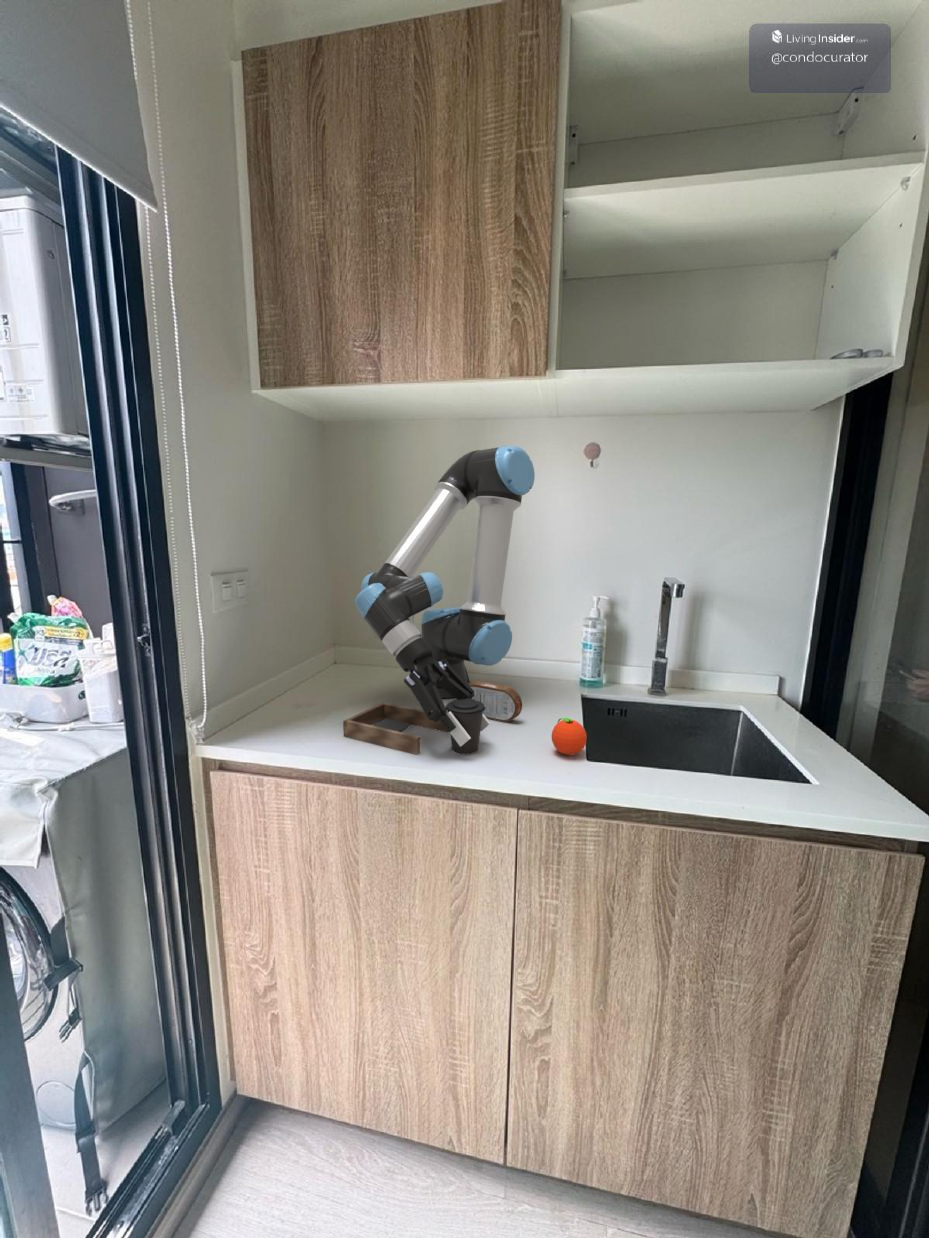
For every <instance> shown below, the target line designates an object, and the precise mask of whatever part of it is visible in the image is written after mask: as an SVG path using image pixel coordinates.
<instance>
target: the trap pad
mask: <svg viewBox="0 0 929 1238" xmlns="http://www.w3.org/2000/svg"><path fill="white" fill-rule="evenodd" d="M372 725H373V726H377V727H381V728H386V729H390V730H394V731H398V732H403V731H404V730H406V729H407V728H409V727H411V726H412V724H409V723H404V722H400V721H395V720H391V719H385V718H384V719H382V720H380V721H378V722H376V723H374V724H372Z"/></svg>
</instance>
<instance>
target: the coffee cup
mask: <svg viewBox="0 0 929 1238" xmlns="http://www.w3.org/2000/svg"><path fill="white" fill-rule="evenodd" d="M445 708H446V711H447V713H448V712H450V711H451V713H452V714H453V715H454V716H455V718H456V719H457V720H458V722H459V723H460V724H461V726H462V727H463V728H464V729H465V731H466V732H467V733H468V735H469V736H470V737H471V739H469V740H468V741H467V742H466V743H465V744H463V745H462V746H461V747H460V745H459V744H458V743H457V742H456V740H455V739H454V738H453V736H452V735H451V734H450V733H449V735H450V742H451V750H452V751H453V753H455V754H458V753H459V755H472V754H475V753H476V752H478V751H479V745H480V737H481V731H480V730H481V723H482V715H483V711H484V710H485V706H484V704H483V703H482V702H480V701H476V700H474V699H470V698H468V699H459V700H457V699H455V700H454V699H453V700H451V701H449V702H447V703H446V705H445Z"/></svg>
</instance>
